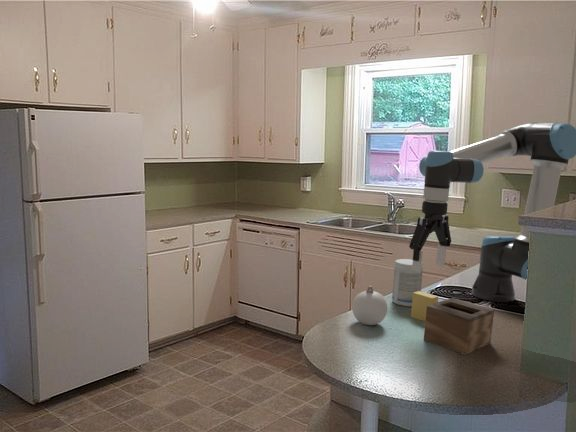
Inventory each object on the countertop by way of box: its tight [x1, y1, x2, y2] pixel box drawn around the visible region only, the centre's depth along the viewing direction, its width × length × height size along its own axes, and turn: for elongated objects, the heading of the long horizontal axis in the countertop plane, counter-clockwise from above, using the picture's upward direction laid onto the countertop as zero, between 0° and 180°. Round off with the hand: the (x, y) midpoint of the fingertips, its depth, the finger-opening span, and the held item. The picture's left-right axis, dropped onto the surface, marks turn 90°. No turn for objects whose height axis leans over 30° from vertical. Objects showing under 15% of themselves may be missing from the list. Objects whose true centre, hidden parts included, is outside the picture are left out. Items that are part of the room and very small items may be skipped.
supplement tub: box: [391, 258, 423, 308], centre depth 185 cm, size 10×10×15 cm
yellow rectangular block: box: [410, 290, 439, 322], centre depth 170 cm, size 4×7×8 cm, turn 43°
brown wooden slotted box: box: [423, 297, 495, 356], centre depth 152 cm, size 14×13×10 cm
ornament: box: [352, 285, 388, 326], centre depth 162 cm, size 10×10×12 cm
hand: (428, 268), depth 168 cm, fingers open, 13 cm apart
